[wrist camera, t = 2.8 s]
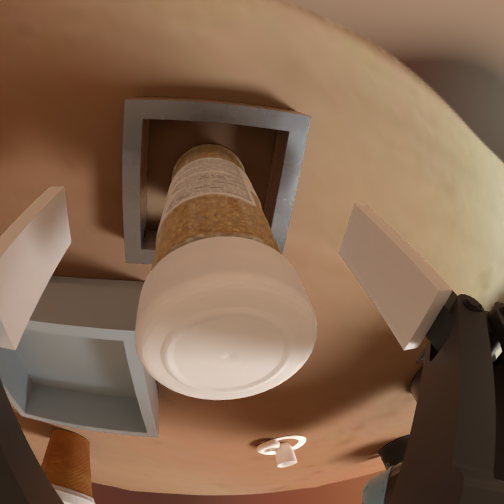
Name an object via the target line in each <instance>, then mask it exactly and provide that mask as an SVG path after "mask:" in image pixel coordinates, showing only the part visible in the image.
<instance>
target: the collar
mask: <svg viewBox="0 0 504 504" xmlns="http://www.w3.org/2000/svg"><path fill="white" fill-rule="evenodd" d="M150 119H165V120H187V121H202V122H215V123H226V124H236V125H245V126H254V127H262V128H269V129H276V130H277V135H276V140H275V146H274V152H273V158H272V163H271V169H270V175H269V180H268V186H267V192H266V197H265V203H264V209H263V213H264V215H265V217H266V219H267V221H268V224H269V226H270V229H271V231H272V234H273V236H274V238H275V241H276V243H277V245H278V247H279V250H280V252H281V254H282V252H283V248H284V244H285V239H286V235H287V230H288V226H289V221H290V217H291V212H292V207H293V203H294V198H295V193H296V189H297V184H298V179H299V174H300V170H301V165H302V160H303V155H304V150H305V145H306V140H307V135H308V130H309V125H310V120H311V116H308V115H305V114H302V113H300V112H297V111H291V110H285V109H279V108H273V107H266V106H259V105H252V104H244V103H235V102H226V101H215V100H203V99H188V98H166V97H133V98H130V99H126V100H125V105H124V121H123V145H122V202H123V226H124V243H125V256H126V263H140V264H153V262H154V256H155V252H156V238H157V232H158V230H147V163H148V141H149V126H150Z"/></svg>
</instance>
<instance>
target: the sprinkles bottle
mask: <svg viewBox="0 0 504 504" xmlns="http://www.w3.org/2000/svg"><path fill="white" fill-rule="evenodd" d="M171 180H172V182H171V184H170V187H169V190H168V194H167V197H166V201H165V205H164V209H163V212H162V216H161V220H160V224H159V228H158V232H157V238H156V252H155V256H154V262H153V266H152V268H151V271H150V273H149V275H148V276H147V278H146V280H145V282H144V284H143V287H142V290H141V294H140V299H139V305H138V311H137V318H136V327H135V347H136V351H137V355H138V357H139V359H140V362H141V363H142V365H143V367H144V368H145V369H146V370H147V372H148V373H149V374H150V375H151V376H152V377H153V378H154V379H155V380H157V381H158V382H159V383H160V384H162V385H164V386H165V387H167V388H169V389H171V390H173V391H175V392H177V393H180V394H183V395H186V396H190V397H195V398H200V399H209V400H231V399H239V398H244V397H249V396H253V395H256V394H259V393H262V392H265V391H267V390H269V389H271V388H273V387H275V386H278V385H279V384H281V383H282V382H284V381H286V380H287V379H288V378H290V377H291V376H292V375H294V374H295V373H296V372H297V371H298V370H299V369H300V368H301V367H302V366H303V365H304V363H305V362H306V361H307V359H308V358H309V356H310V354H311V352H312V351H313V348H314V345H315V342H316V337H317V320H316V316H315V313H314V310H313V308H312V305H311V303H310V300H309V298H308V296H307V294H306V291H305V289H304V287H303V285H302V283H301V280H300V278H299V276H298V274H297V272H296V270H295V269H294V268H293V266H292V265H291V264H290V262H289V261H288V260H287V259H286V258H285V257H284V256H283V255H282V254H281V252H280V250H279V247H278V245H277V243H276V241H275V238H274V236H273V234H272V231H271V229H270V226H269V224H268V221H267V219H266V217H265V215H264V213H263V210H262V207H261V203H260V201H259V199H258V197H257V195H256V193H255V191H254V189H253V186H252V184H251V182H250V180H249V178H248V177H247V175H246V174H245V169H244V166H243V164H242V162H241V161H240V159H239V158H238V157H237V156H236V155H235V154H234V153H233V152H232V151H230V150H229V149H227V148H225V147H223V146H221V145H214V144H203V145H199V146H196V147H193V148H190V149H189V150H188V151H187V152H185V153H184V154H183V155H182V156H181V157H180V158H179V159H178V161H177V162H176V164H175V166H174V168H173V171H172V178H171Z"/></svg>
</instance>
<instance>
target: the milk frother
mask: <svg viewBox="0 0 504 504" xmlns="http://www.w3.org/2000/svg"><path fill="white" fill-rule="evenodd" d="M409 436H410V435H409ZM409 436H405V437H402V438H399V439H397V440H395V441H393V442H391V443H390V444H388V445H386V446H385V447H383V448H382V449H381V450H380V451H379V452H378V454H379V455H380V456H381V459H382V461H383V463H384V465H385V467H386V470H388V469H389V467H391V466H396V465H398V464H400V463H402V462H403V458H404V455H405V451H406V448H407V444H408V440H409Z"/></svg>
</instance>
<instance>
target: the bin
mask: <svg viewBox="0 0 504 504" xmlns="http://www.w3.org/2000/svg"><path fill="white" fill-rule="evenodd" d="M143 284H144V281H124V280H107V279H91V278H76V277H62V276H51V278H50V280H49V282H48V284H47V286H46V287H45V289H44V291H43V293H42V295H41V297H40V299H39V301H38V303H37V305H36V307H35V309H34V311H33V313H32V315H31V317H30V319H29V321H28V324H27V326H26V328H25V330H24V332H23V335H22V337H21V339H20V342H19V344H18V346H17V349H16V350H11V349H7V348H2V347H0V378H1V381H2V384H3V386H4V389H5V392H6V394H7V397H8V399H9V401H10V402H11V403H12V405H13V406H14V407H15V409H16V410H17V411H18V412H19V414H20V415H21V416H23V417H27V418H31V419H35V420H39V421H43V422H48V423H52V424H57V425H62V426H67V427H72V428H78V429H84V430H90V431H97V432H104V433H112V434H121V435H131V436H143V437H159V394H158V388H157V382H156V380H155V379H154V378H153V377H152V376H151V375H150V374H149V373H148V372H147V370H146V369H145V368H144V367H143V365H142V363H141V362H140V359H139V357H138V355H137V351H136V347H135V327H136V318H137V311H138V305H139V299H140V294H141V290H142V287H143Z"/></svg>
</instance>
